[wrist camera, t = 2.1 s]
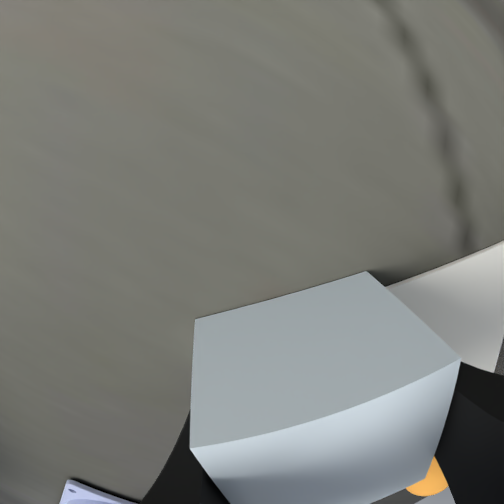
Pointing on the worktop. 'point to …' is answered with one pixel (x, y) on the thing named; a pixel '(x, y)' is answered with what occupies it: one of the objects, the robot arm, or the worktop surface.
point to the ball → (430, 481)
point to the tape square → (462, 304)
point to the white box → (319, 396)
